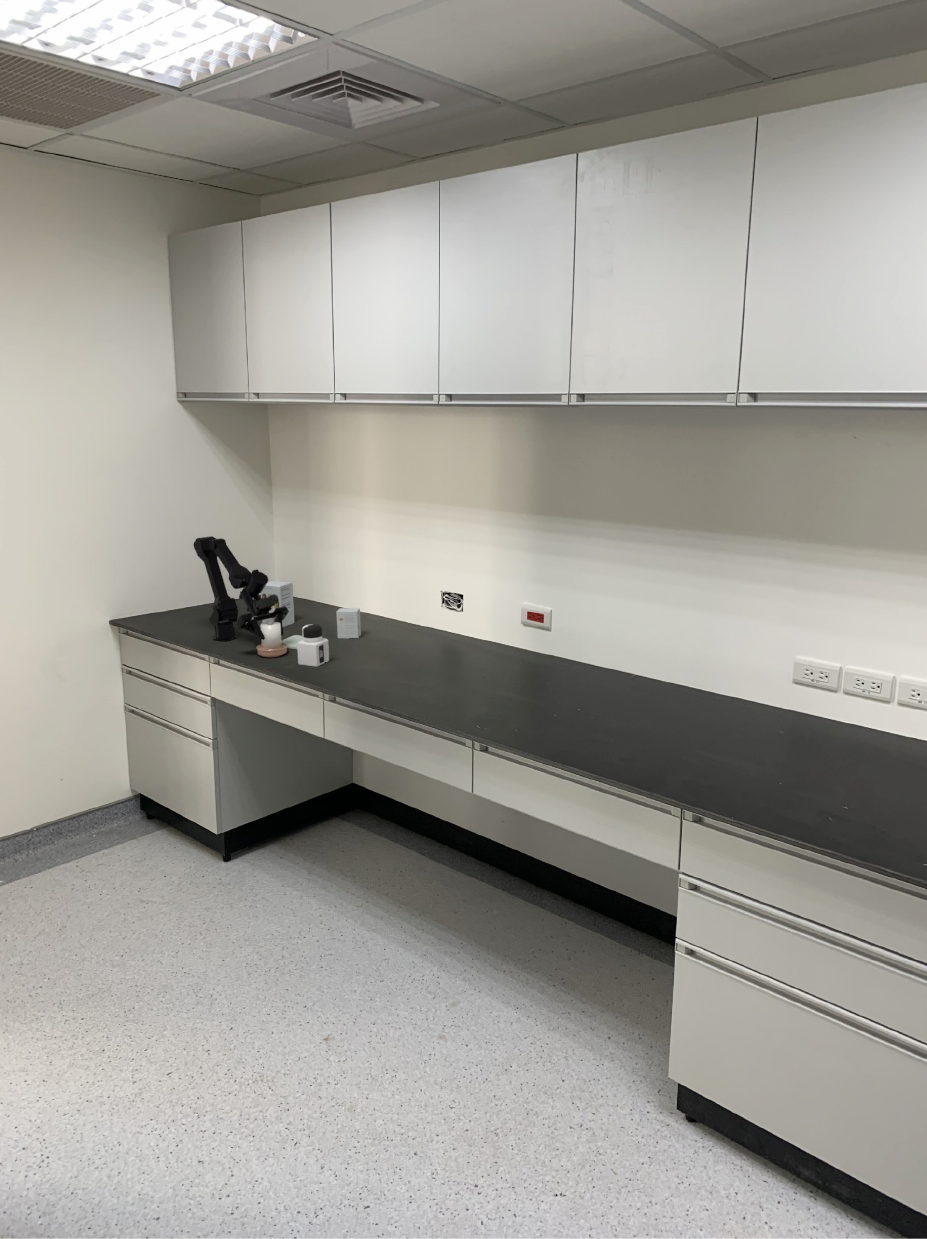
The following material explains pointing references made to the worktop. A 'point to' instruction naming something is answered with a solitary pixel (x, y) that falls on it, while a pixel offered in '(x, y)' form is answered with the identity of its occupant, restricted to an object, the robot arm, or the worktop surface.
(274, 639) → the bottle
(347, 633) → the small box
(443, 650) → the worktop surface
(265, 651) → the bowl
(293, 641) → the mat
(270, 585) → the supplement box
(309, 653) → the container
